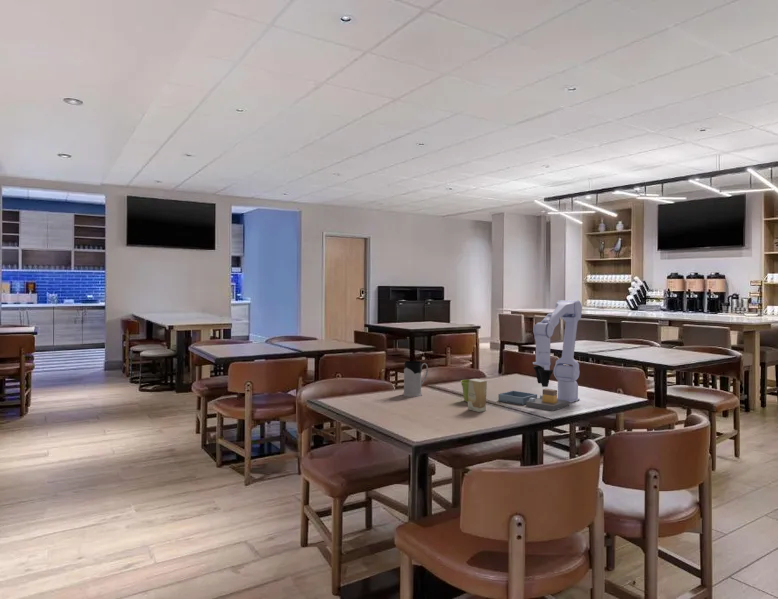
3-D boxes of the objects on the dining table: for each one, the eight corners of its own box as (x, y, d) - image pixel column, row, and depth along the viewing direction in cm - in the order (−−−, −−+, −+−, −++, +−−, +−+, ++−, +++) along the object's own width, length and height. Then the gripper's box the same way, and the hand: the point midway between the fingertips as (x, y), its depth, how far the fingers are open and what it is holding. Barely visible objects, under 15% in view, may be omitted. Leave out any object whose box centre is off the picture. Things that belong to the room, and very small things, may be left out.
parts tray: (512, 397, 247) (513, 390, 247) (537, 401, 238) (537, 394, 238) (498, 400, 238) (498, 394, 238) (522, 405, 230) (523, 398, 230)
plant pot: (472, 404, 230) (472, 383, 230) (455, 400, 238) (456, 380, 238) (486, 401, 236) (486, 381, 236) (470, 398, 244) (470, 378, 243)
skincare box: (467, 409, 220) (467, 379, 220) (474, 408, 223) (474, 378, 223) (479, 412, 215) (479, 381, 215) (486, 410, 218) (487, 380, 218)
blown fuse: (545, 405, 231) (546, 388, 230) (556, 406, 227) (557, 390, 227) (542, 406, 228) (542, 389, 228) (553, 407, 225) (553, 391, 225)
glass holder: (398, 394, 251) (399, 361, 250) (420, 390, 260) (420, 359, 260) (412, 397, 244) (412, 363, 244) (434, 393, 254) (434, 361, 253)
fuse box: (542, 401, 238) (542, 394, 238) (568, 405, 229) (568, 398, 229) (526, 406, 228) (526, 398, 228) (552, 410, 219) (552, 402, 219)
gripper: (529, 349, 231) (529, 381, 232) (537, 354, 217) (536, 388, 217) (546, 349, 231) (546, 381, 231) (555, 354, 216) (554, 388, 217)
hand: (542, 384), depth 224 cm, fingers open, 7 cm apart
